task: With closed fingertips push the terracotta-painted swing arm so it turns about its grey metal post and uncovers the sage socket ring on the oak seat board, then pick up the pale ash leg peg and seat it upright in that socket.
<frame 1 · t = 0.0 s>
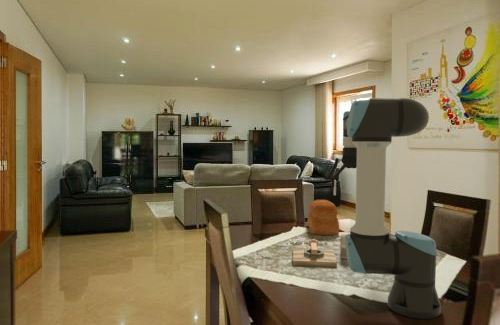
hand: (350, 195, 167), 28 cm above the table, fingers open, 13 cm apart
stool seat: (313, 259, 166), on the table
leg peg: (345, 257, 169), on the table
swing arm: (313, 246, 168), point 5 cm above the table, hinge at 90.0°
bread: (322, 230, 222), on the table
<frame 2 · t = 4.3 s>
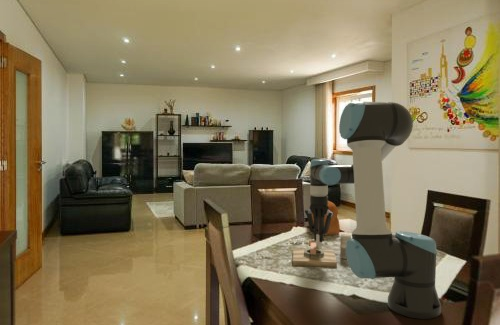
hand: (318, 248, 166), 5 cm above the table, fingers closed
swing arm: (313, 246, 168), point 5 cm above the table, hinge at 87.6°, touching gripper
everything else where it was.
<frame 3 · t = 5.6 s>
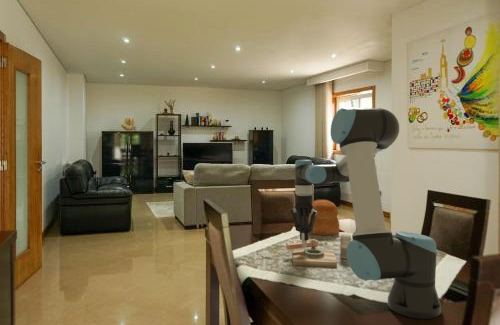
hand: (304, 247, 169), 4 cm above the table, fingers closed
swing arm: (302, 244, 172), point 5 cm above the table, hinge at 31.1°, touching gripper
everything else where it was.
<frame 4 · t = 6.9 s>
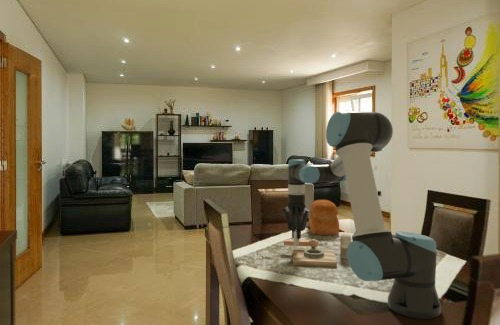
hand: (296, 245, 172), 4 cm above the table, fingers closed
swing arm: (300, 242, 175), point 5 cm above the table, hinge at 1.6°, touching gripper
everything else where it was.
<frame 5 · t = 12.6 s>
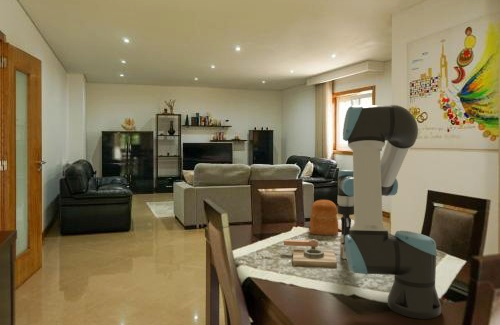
hand: (345, 256, 169), 0 cm above the table, fingers closed on leg peg, 4 cm apart
leg peg: (345, 257, 169), on the table, touching gripper
swing arm: (300, 242, 175), point 5 cm above the table, hinge at 1.5°
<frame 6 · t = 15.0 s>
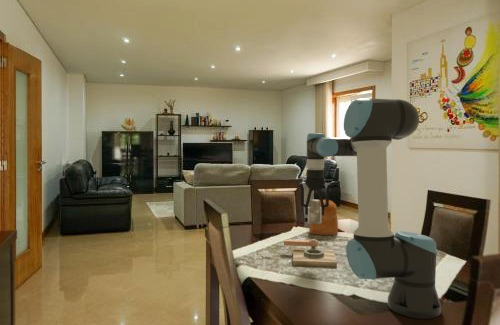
hand: (314, 222, 165), 16 cm above the table, fingers closed on leg peg, 4 cm apart
leg peg: (314, 223, 165), point 16 cm above the table, touching gripper
when the fingers open (4 cm above the table, at t = 17.4 s): leg peg drops 2 cm, resting on stool seat.
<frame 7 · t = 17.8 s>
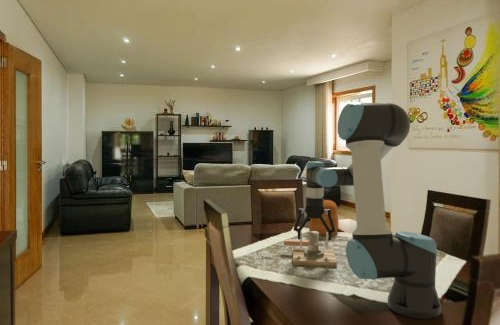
hand: (314, 247, 166), 5 cm above the table, fingers open, 10 cm apart
leg peg: (313, 254, 166), point 2 cm above the table, touching stool seat
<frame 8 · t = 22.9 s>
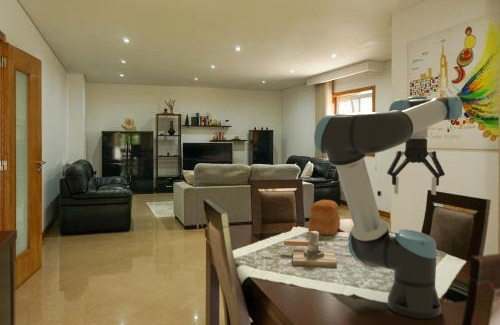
hand: (414, 194, 145), 32 cm above the table, fingers open, 13 cm apart
at the end: swing arm at +2° (first picture: +90°); leg peg 0.3 cm from the stool seat (horizontally); leg peg tilted 1° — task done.
